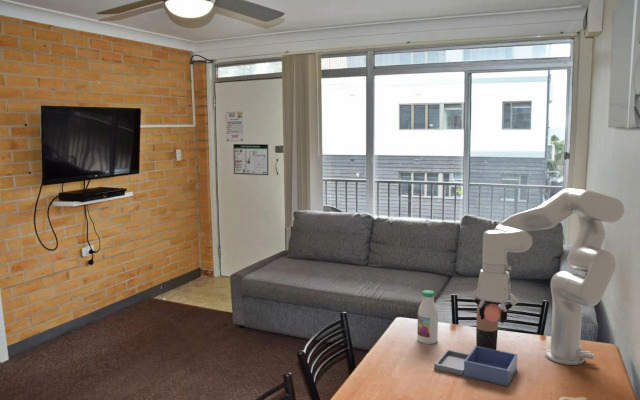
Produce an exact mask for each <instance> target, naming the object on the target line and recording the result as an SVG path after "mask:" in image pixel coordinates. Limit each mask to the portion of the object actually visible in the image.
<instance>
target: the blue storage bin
mask: <svg viewBox="0 0 640 400" xmlns="http://www.w3.org/2000/svg"><path fill="white" fill-rule="evenodd" d="M468 354H469V355H468V357H467V358H466V359H465V361H464V375H463V377H464V378H469V379H473V380H477V381H481V382H485V383H489V384H494V385H498V386H502V387H506V388H508V387H509V386H510V384H511V382H512V381H513V380H512V379H513V378H514V376H515V375H516V372H517V370H518V354H517V353H512V352H508V351H504V350H503V351H502V350H497V349H496V350H494V349H489V348H484V347H479V346H476V345H475V346H474V347H473V349H472V350H471V351H470V353H468Z"/></svg>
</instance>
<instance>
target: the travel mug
mask: <svg viewBox="0 0 640 400" xmlns="http://www.w3.org/2000/svg"><path fill="white" fill-rule="evenodd" d="M489 304H496V305H498V306H499V303H497V302H491V301H485V303H484V306H485V307H486V306H487V305H489ZM479 311H480V308H479V307H478V305H477V304H476V328H475V331H476V332H475V333H476V335H475V336H476V337H475V338H476V339H475V341H476V345H475V346H479V347H484V348H489V349H494V350H497V347H498V346H497V345H498V333H499V332H498V329H499V321H497V322H490V321H488V320H487V319H486V318H484V319H483V320H482V319H481V316H479Z"/></svg>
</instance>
